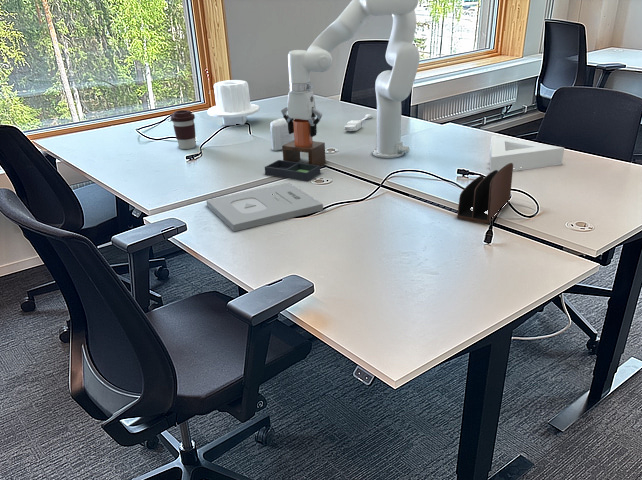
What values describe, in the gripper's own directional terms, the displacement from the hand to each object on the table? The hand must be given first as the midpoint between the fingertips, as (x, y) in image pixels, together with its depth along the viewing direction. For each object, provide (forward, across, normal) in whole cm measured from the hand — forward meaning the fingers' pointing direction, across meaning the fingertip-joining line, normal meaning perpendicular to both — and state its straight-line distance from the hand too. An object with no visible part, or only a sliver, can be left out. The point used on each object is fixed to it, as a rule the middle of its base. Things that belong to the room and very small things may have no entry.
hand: (302, 134), depth 220 cm
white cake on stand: (+12, +67, -44) cm, 81 cm away
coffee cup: (+12, +60, -1) cm, 61 cm away
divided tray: (+12, -2, +12) cm, 17 cm away
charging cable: (+12, +8, -63) cm, 64 cm away
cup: (+4, 0, 0) cm, 4 cm away
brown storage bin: (+12, 0, 0) cm, 12 cm away
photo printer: (+12, +20, -16) cm, 28 cm away
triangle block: (+11, -71, -30) cm, 78 cm away
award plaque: (+12, -12, +44) cm, 48 cm away
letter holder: (+12, -76, +17) cm, 79 cm away
